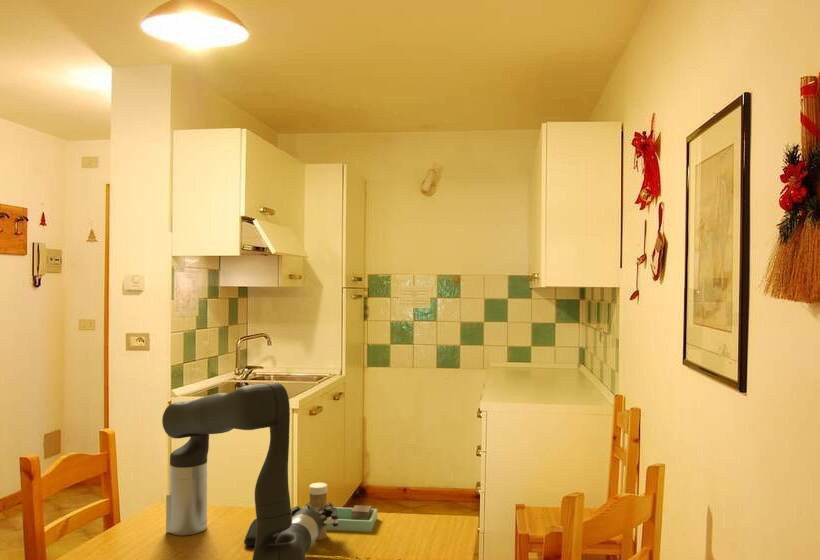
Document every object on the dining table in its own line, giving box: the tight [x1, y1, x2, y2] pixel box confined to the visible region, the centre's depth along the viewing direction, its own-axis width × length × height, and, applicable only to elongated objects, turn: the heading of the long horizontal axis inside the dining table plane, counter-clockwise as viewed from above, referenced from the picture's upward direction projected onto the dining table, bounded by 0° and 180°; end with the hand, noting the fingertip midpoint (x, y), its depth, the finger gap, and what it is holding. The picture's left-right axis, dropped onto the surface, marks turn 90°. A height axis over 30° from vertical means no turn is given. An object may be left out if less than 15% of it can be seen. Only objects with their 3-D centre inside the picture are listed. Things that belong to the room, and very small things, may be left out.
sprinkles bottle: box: [308, 482, 329, 541], centre depth 158 cm, size 5×5×14 cm
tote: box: [326, 506, 378, 533], centre depth 167 cm, size 15×9×3 cm, turn 84°
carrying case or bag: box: [243, 518, 281, 549], centre depth 159 cm, size 11×3×15 cm
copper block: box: [351, 504, 372, 520], centre depth 167 cm, size 4×4×4 cm
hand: (320, 505), depth 161 cm, fingers closed on sprinkles bottle, 4 cm apart
